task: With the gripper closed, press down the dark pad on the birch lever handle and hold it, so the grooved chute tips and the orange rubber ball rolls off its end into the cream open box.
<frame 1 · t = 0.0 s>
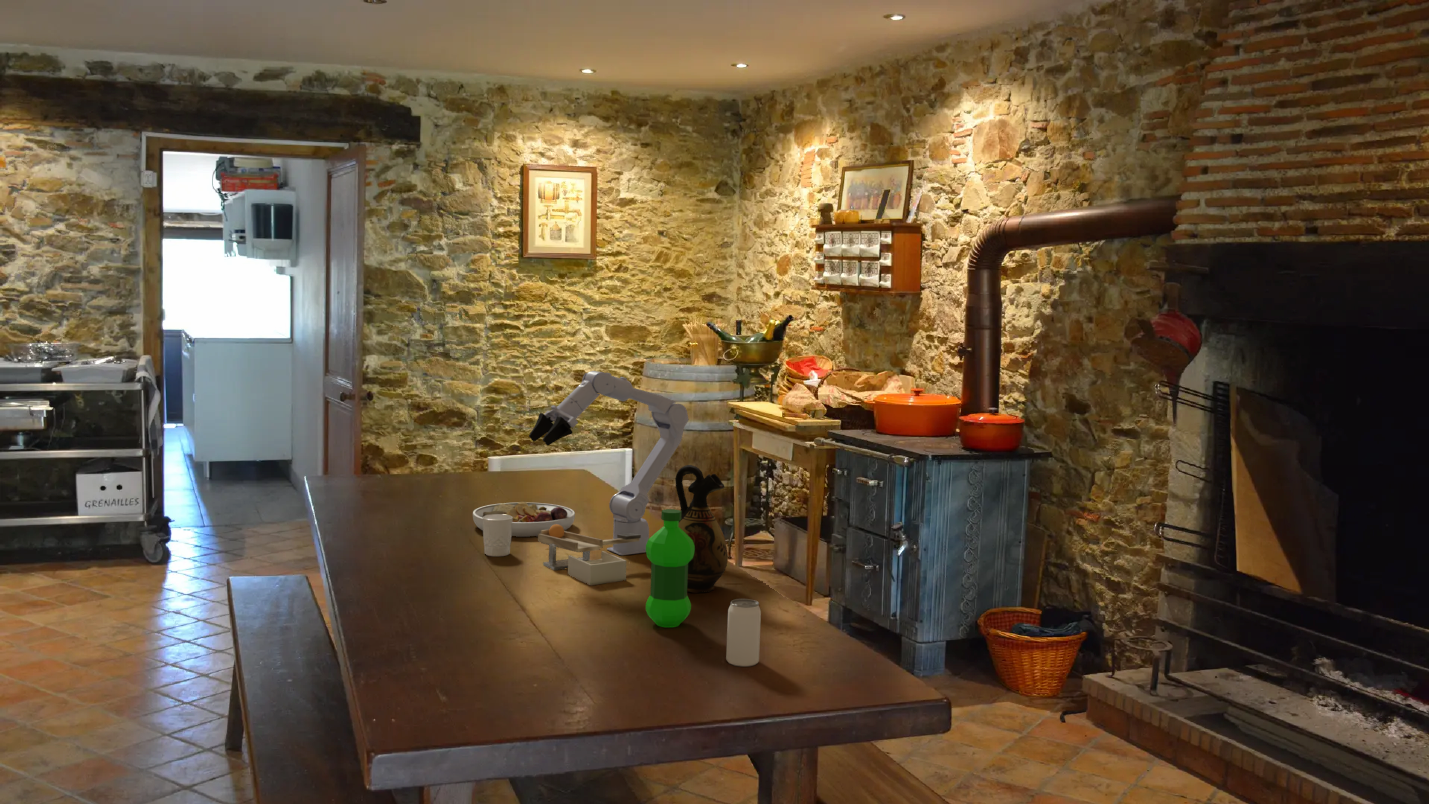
hand: (538, 440, 289), 32 cm above the table, tool tilted 50°, fingers open, 7 cm apart
lever stand: (569, 565, 292), on the table
bowl: (523, 529, 334), on the table
ceramic jug: (692, 588, 275), on the table
can: (742, 662, 221), on the table
plastic bottle: (667, 624, 244), on the table
ball: (556, 531, 297), point 7 cm above the table, tilted 12°, touching lever
white cup: (497, 554, 301), on the table
lever: (589, 537, 294), point 7 cm above the table, hinge at 5.0°, touching ball
cream open box: (596, 577, 280), on the table
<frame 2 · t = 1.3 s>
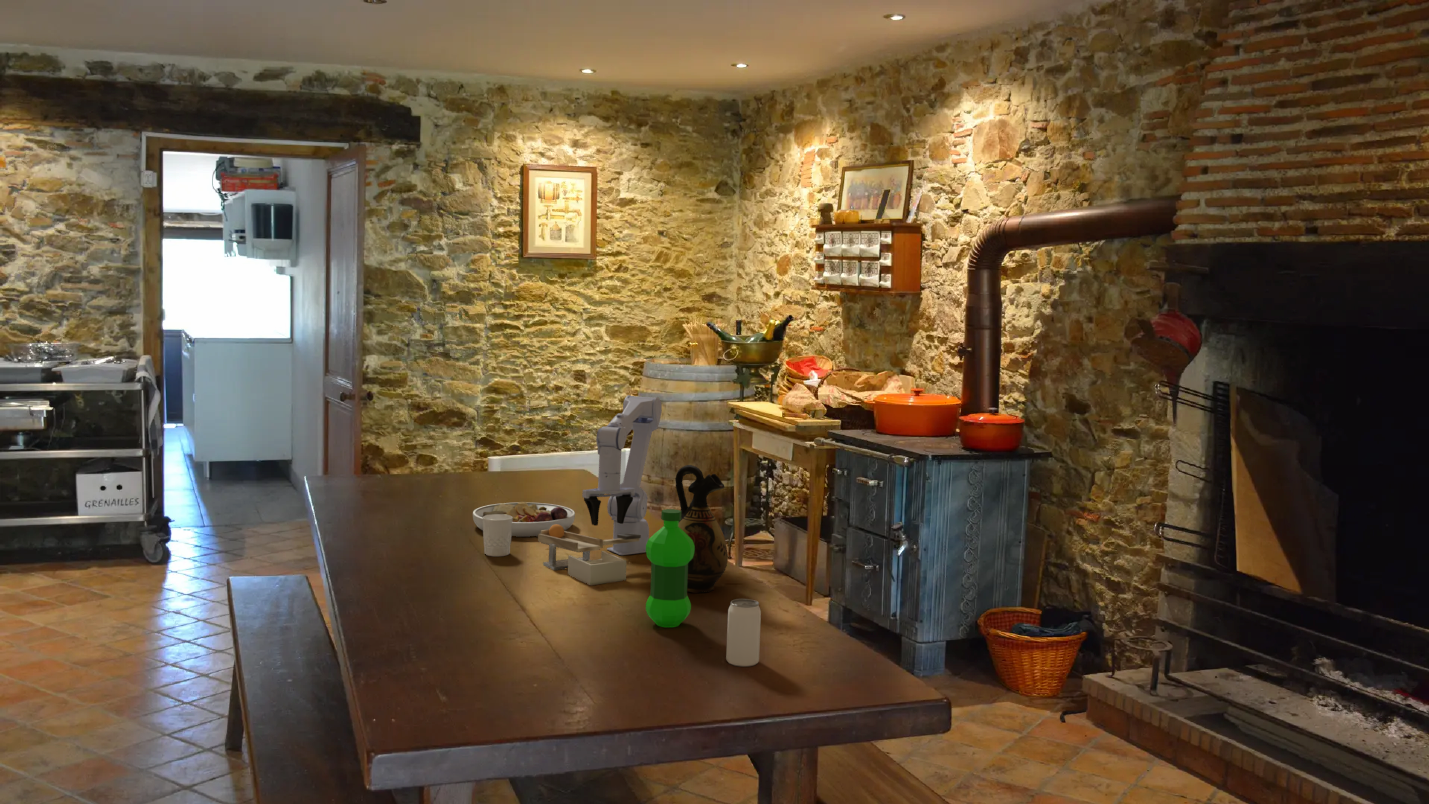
hand: (607, 524, 293), 11 cm above the table, tool pointing down, fingers open, 7 cm apart
nothing on the table moved.
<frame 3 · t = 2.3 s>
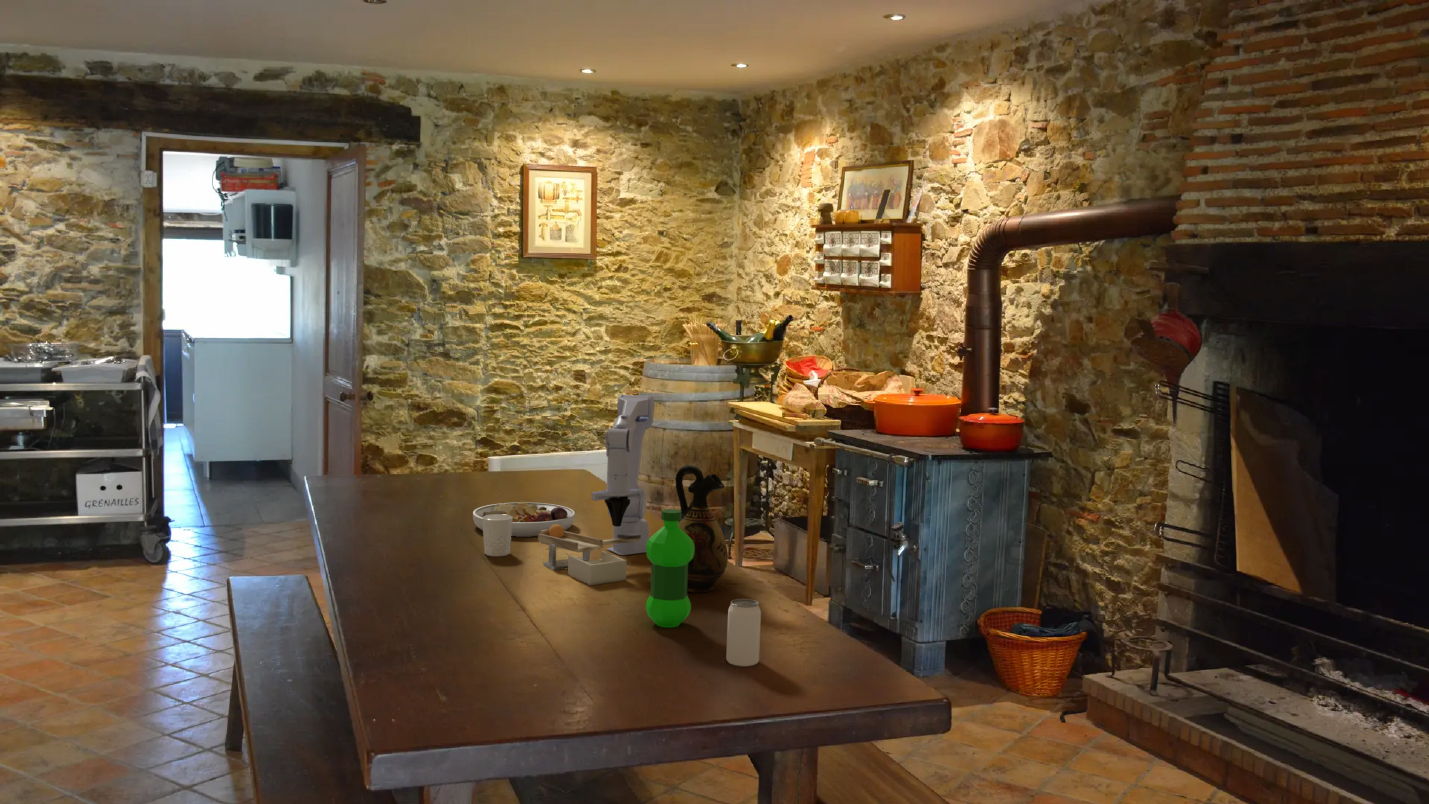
hand: (616, 525, 293), 10 cm above the table, tool pointing down, fingers closed
nothing on the table moved.
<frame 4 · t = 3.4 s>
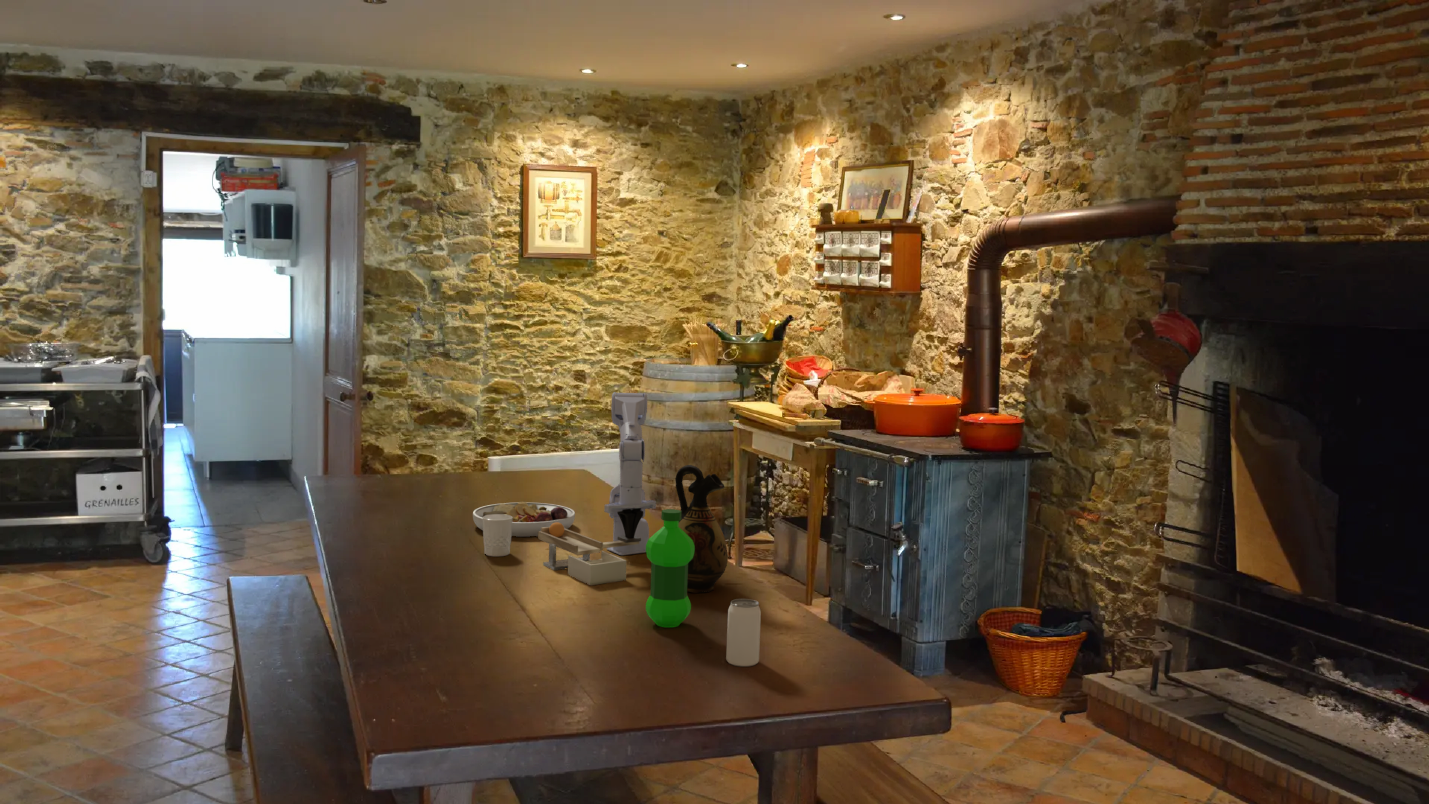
hand: (629, 537, 291), 8 cm above the table, tool pointing down, fingers closed, pressing on lever
lever: (589, 538, 294), point 7 cm above the table, hinge at 0.7°, touching ball, gripper
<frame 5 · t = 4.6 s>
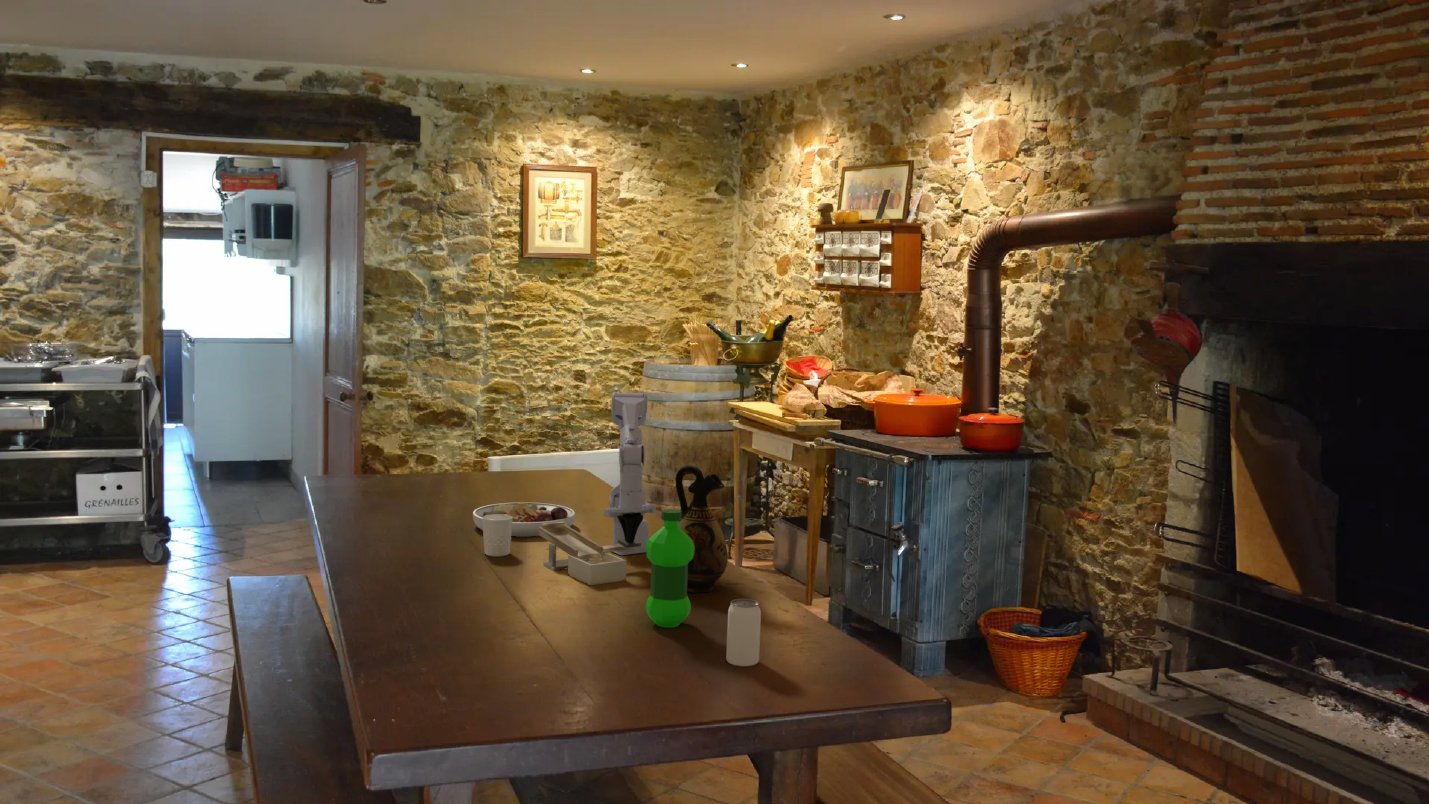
hand: (629, 542, 291), 7 cm above the table, tool pointing down, fingers closed, pressing on lever
ball: (603, 570, 278), point 2 cm above the table, tilted 15°, touching cream open box
lever: (589, 538, 294), point 7 cm above the table, hinge at -5.8°, touching gripper, cream open box
everything else where it was.
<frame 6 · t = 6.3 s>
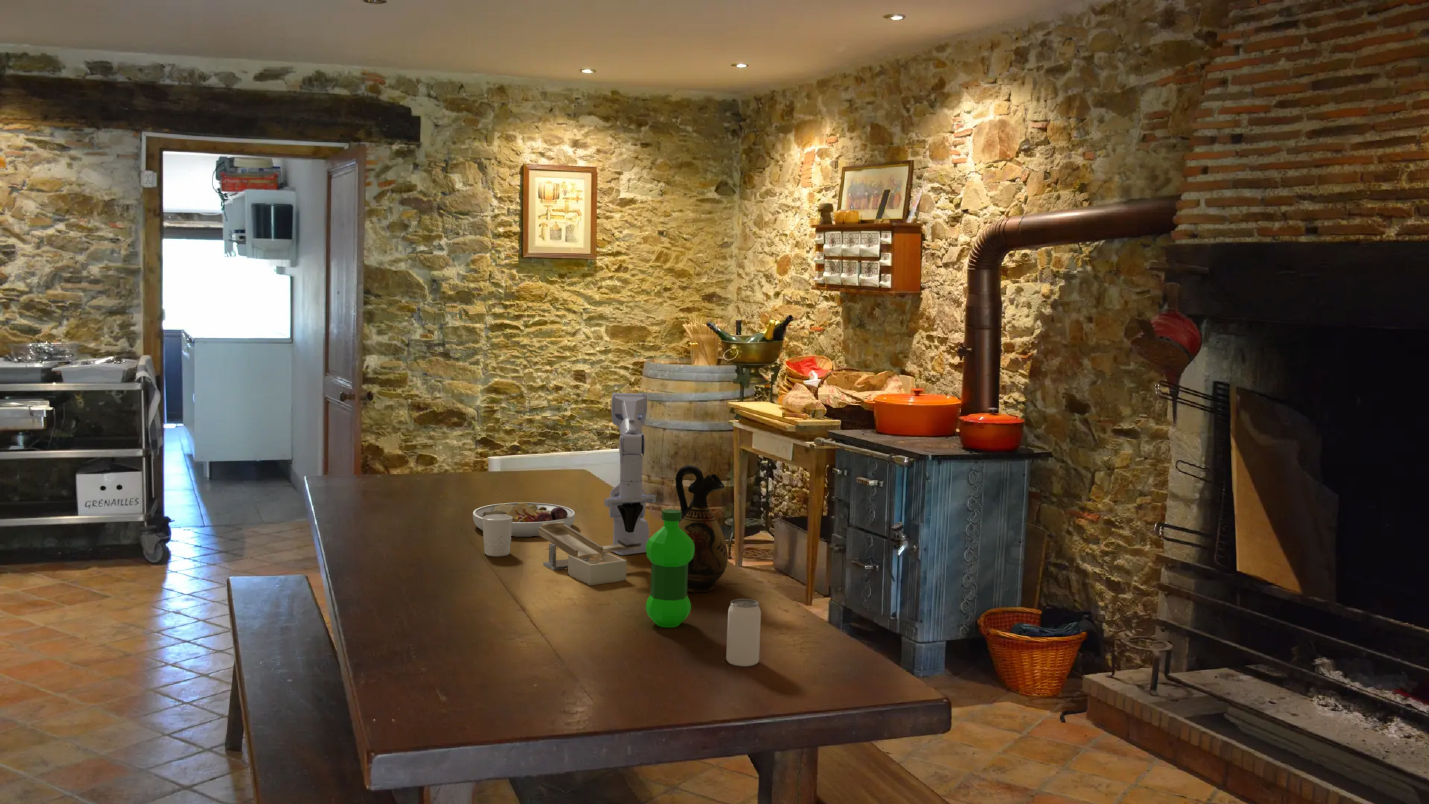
hand: (629, 531, 291), 9 cm above the table, tool pointing down, fingers closed
lever: (589, 538, 294), point 7 cm above the table, hinge at -5.8°, touching cream open box
everything else where it was.
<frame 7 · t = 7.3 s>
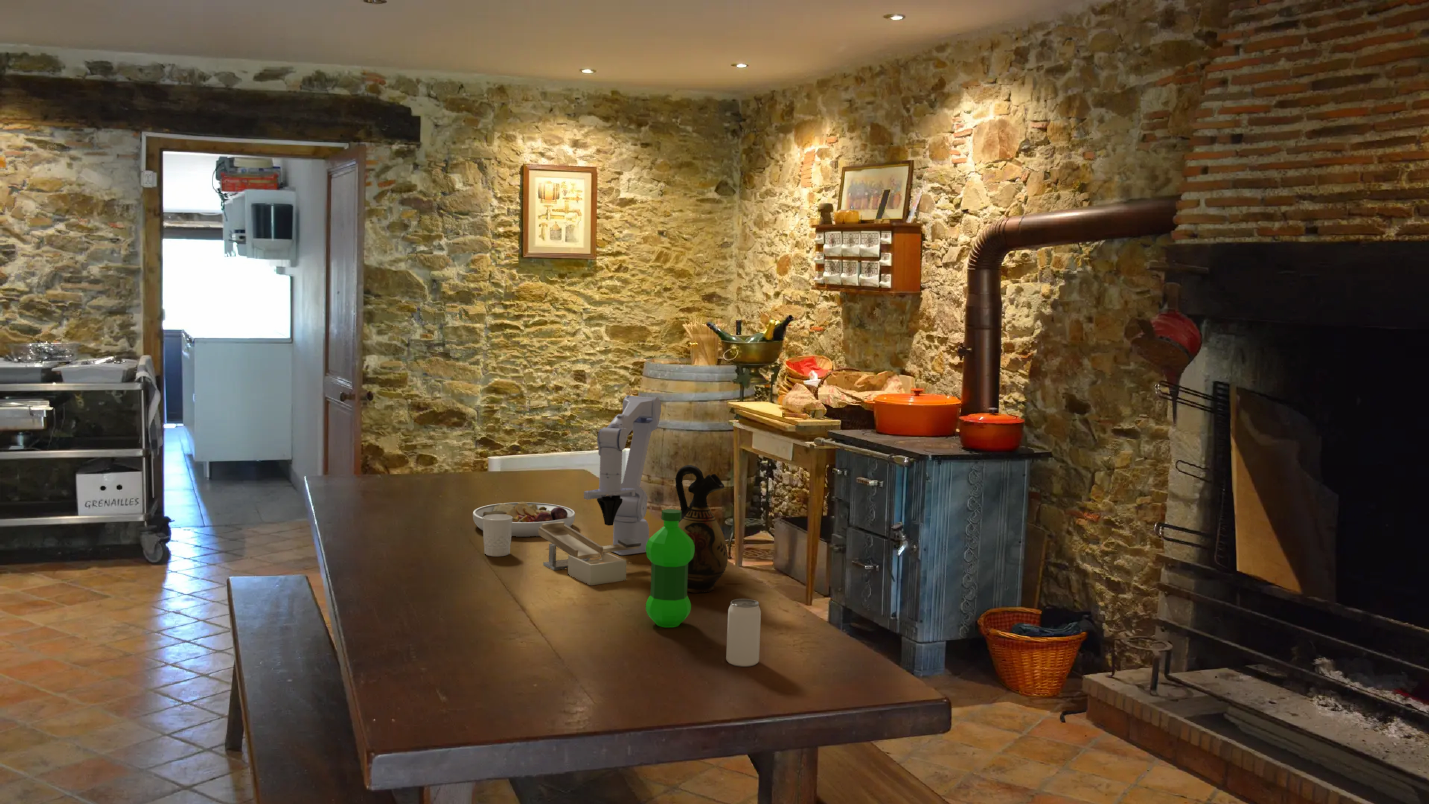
hand: (608, 524, 294), 10 cm above the table, tool pointing down, fingers closed
nothing on the table moved.
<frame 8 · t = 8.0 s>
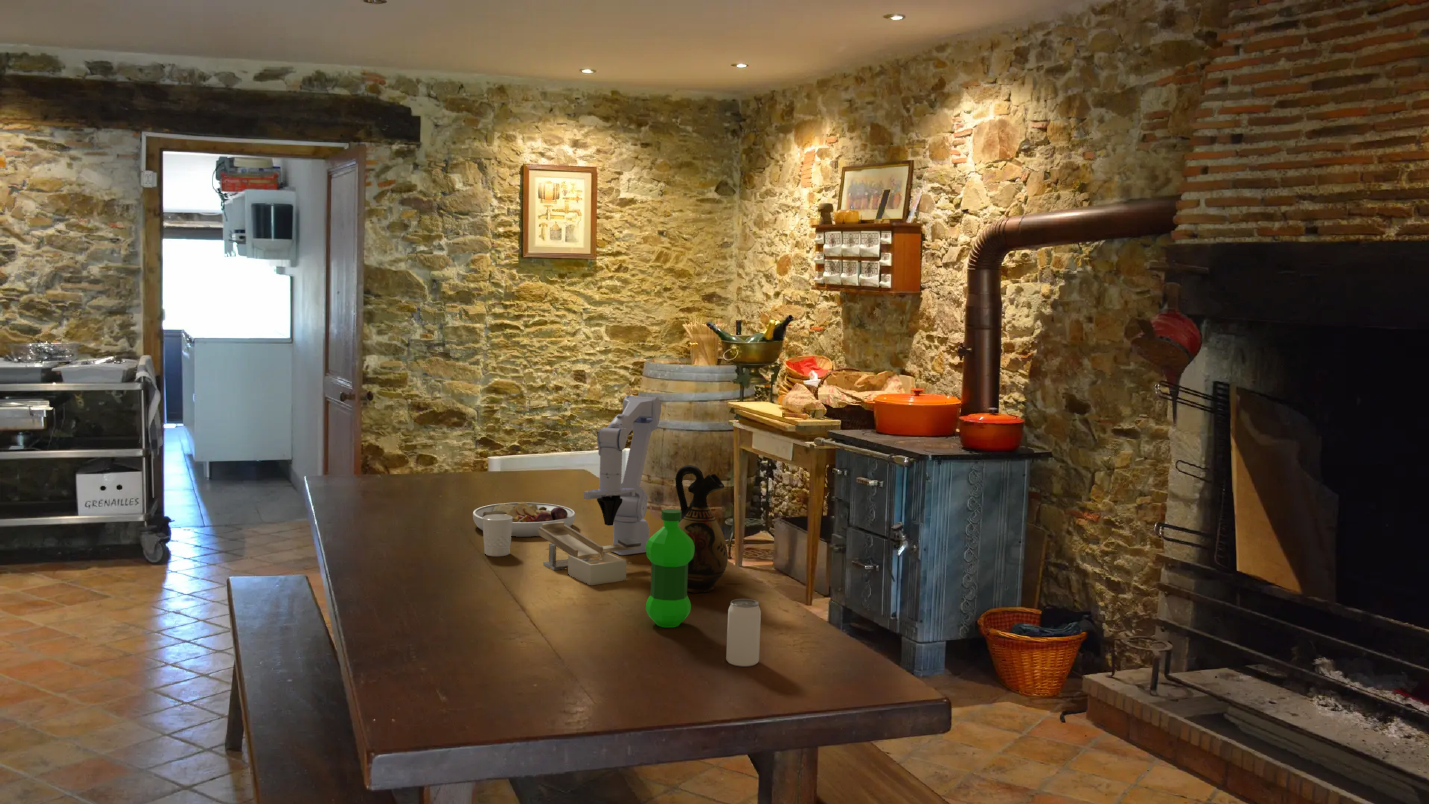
hand: (608, 524, 294), 10 cm above the table, tool pointing down, fingers closed
nothing on the table moved.
at the end: ball inside the target area on the cream open box (2.9 cm from its centre), point 2.5 cm above the cream open box's base; lever at -6° (first picture: +5°) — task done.
